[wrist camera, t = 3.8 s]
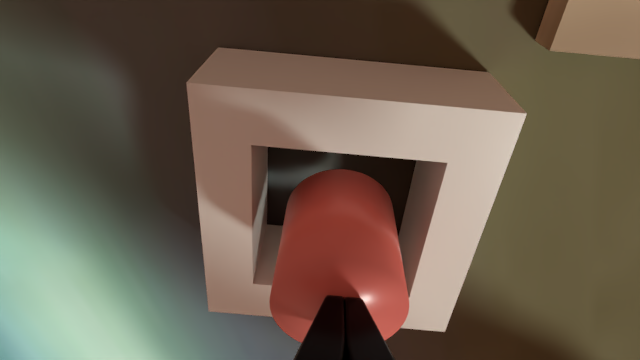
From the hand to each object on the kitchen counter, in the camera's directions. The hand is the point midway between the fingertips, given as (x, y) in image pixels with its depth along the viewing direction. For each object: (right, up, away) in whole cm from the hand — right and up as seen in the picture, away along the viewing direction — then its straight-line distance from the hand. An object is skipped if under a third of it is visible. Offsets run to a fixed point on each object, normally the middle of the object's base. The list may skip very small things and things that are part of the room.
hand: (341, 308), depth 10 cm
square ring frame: (0, +3, +5) cm, 6 cm away
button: (0, +2, +4) cm, 5 cm away
